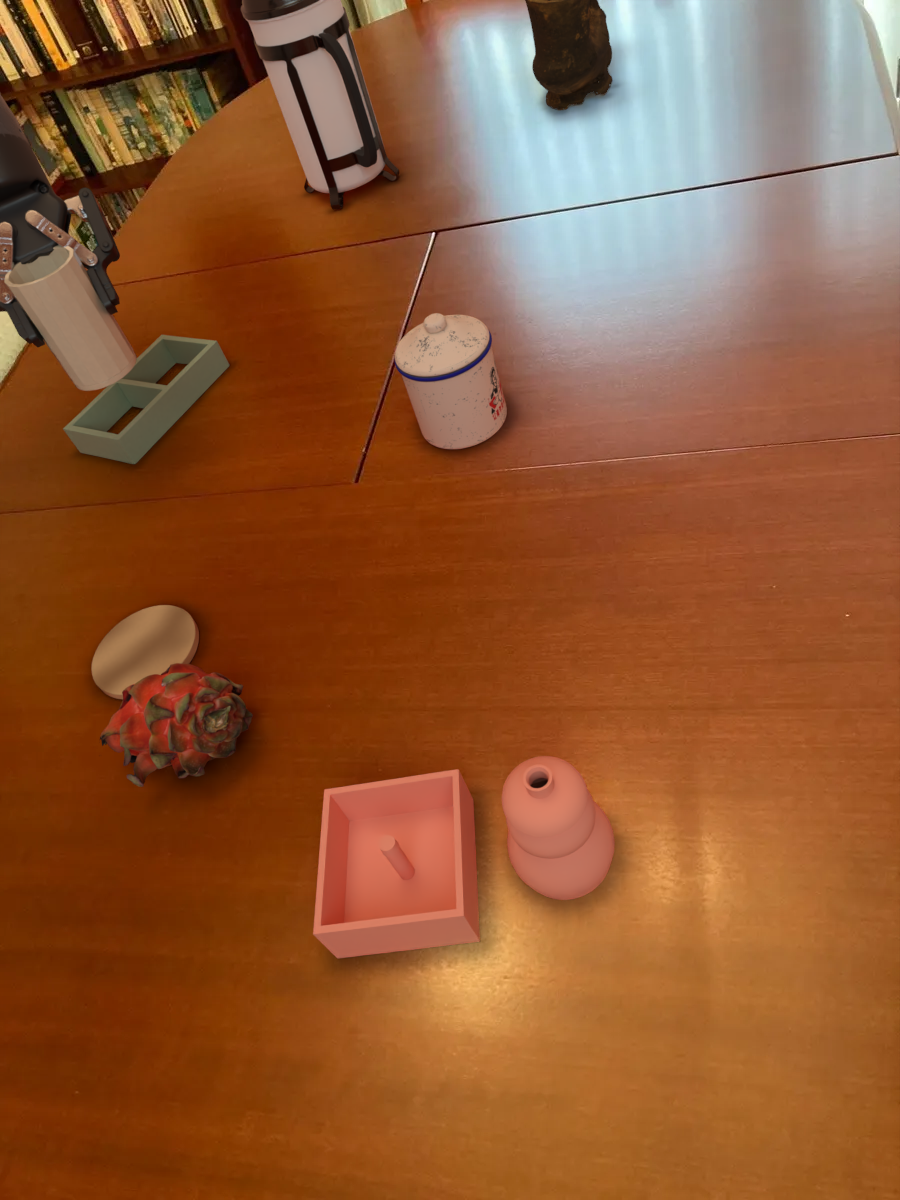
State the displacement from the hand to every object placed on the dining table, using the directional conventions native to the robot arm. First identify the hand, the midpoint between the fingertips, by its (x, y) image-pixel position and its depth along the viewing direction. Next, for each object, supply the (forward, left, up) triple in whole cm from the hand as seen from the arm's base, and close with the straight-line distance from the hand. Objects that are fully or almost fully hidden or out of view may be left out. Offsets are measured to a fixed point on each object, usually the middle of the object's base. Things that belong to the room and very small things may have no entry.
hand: (75, 326), depth 79 cm
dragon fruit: (+25, -26, -18) cm, 41 cm away
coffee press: (-14, +59, -18) cm, 64 cm away
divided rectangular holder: (-11, +9, -18) cm, 23 cm away
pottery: (+50, -26, -18) cm, 59 cm away
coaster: (+14, -20, -18) cm, 30 cm away
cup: (-1, +1, -6) cm, 6 cm away
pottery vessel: (+9, +86, -18) cm, 89 cm away
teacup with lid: (+27, +15, -18) cm, 36 cm away
